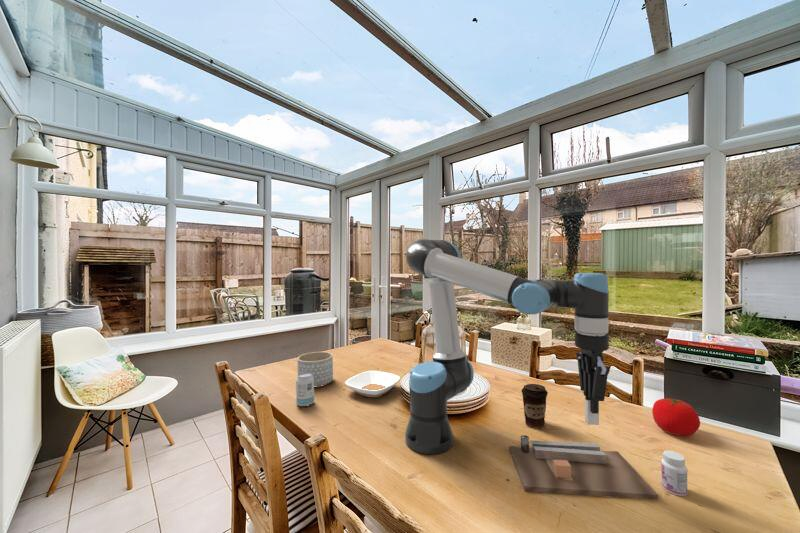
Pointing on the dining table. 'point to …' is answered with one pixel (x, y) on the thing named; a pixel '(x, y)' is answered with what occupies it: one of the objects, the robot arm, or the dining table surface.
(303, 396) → the beverage can
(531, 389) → the coffee cup
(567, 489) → the board
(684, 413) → the tomato
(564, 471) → the block
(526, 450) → the bar
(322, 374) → the planter
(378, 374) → the bowl
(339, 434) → the dining table surface
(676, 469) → the pill bottle
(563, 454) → the bar
